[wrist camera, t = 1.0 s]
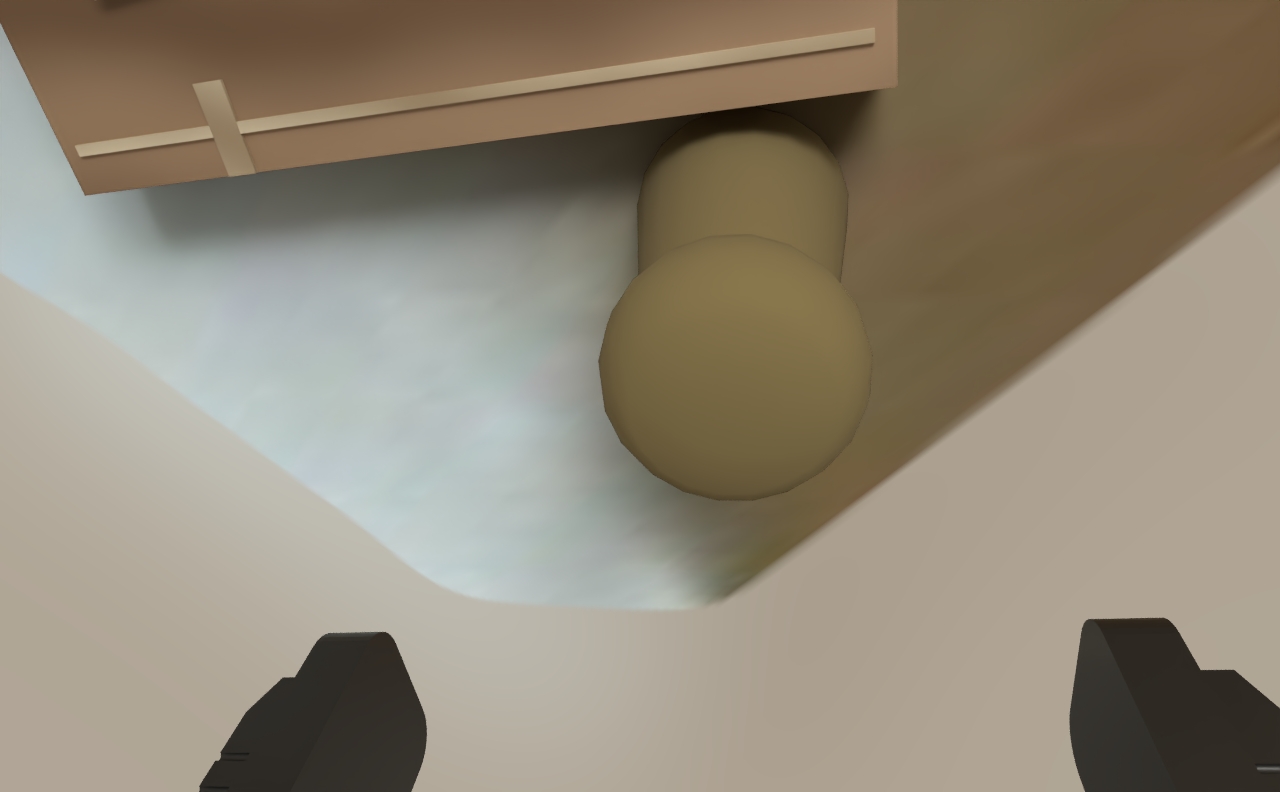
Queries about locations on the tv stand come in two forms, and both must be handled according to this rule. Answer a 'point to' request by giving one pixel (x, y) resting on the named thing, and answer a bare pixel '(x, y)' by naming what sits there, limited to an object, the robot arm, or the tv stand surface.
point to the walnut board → (410, 73)
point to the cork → (738, 312)
